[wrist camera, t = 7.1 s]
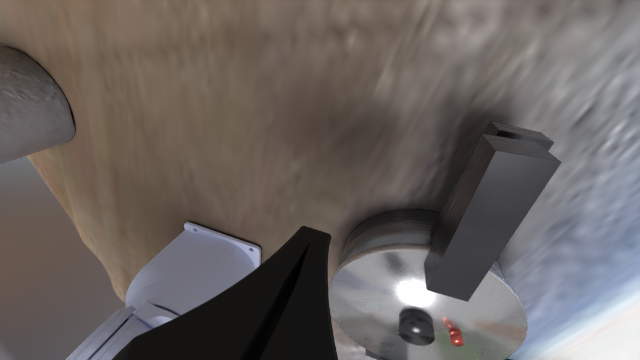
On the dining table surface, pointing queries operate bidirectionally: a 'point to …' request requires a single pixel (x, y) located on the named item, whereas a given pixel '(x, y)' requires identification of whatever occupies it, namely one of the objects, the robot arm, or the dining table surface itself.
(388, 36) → the dining table surface
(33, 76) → the pillar candle
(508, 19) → the dining table surface
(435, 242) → the lid
